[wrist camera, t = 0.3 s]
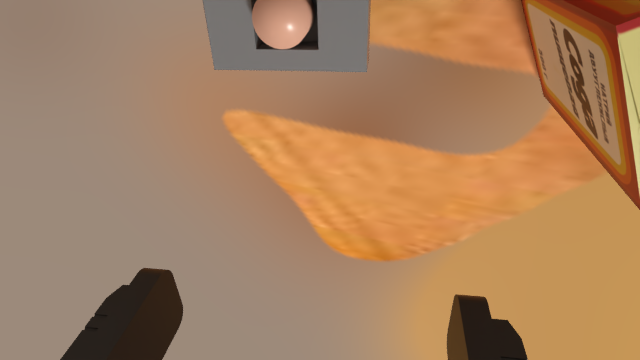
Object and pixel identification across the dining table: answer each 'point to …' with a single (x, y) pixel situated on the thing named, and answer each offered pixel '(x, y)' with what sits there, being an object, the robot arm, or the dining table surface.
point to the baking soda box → (593, 76)
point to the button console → (309, 55)
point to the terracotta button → (282, 21)
